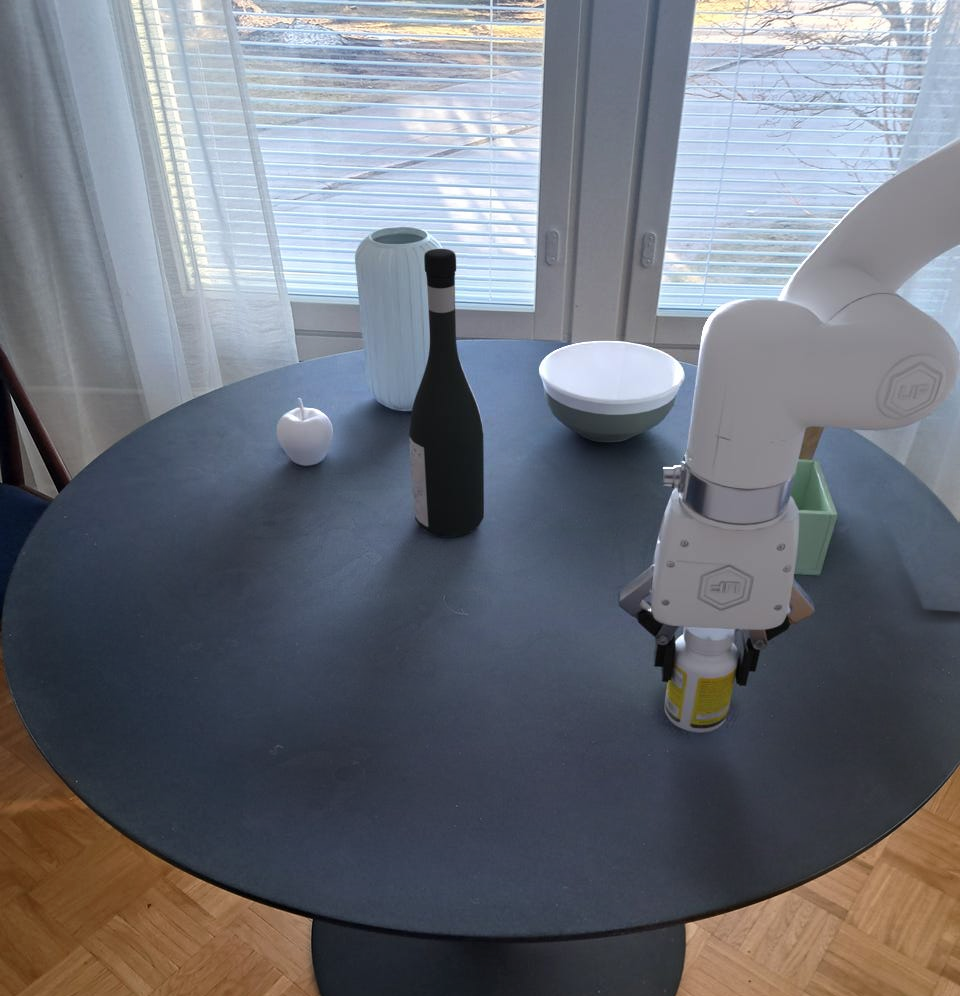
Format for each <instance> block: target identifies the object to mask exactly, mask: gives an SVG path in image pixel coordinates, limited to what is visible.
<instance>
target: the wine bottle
mask: <svg viewBox="0 0 960 996" xmlns="http://www.w3.org/2000/svg"><path fill="white" fill-rule="evenodd" d="M424 265H425V272H426V276H427V290H428V308H429V329H430V348H429V356H428V361H427V365H426V368H425V372H424V375H423V378H422V381H421V383H420V386H419V389H418V392H417V395H416V397H415V400H414V404H413V408H412V411H411V413H410V421H409V431H408V433H409V434H408V438H409V440H408V441H409V454H410V468H411V469H410V471H411V483H412V486H411V487H412V499H413V500H412V501H413V513H414V520H415V522H416V523H417V525H418V527H419V528H420V529H421V530H423V531H425V532H426V533H428V534H429V535H432V536H435V537H440V538H441V537H442V538H454V537H455V538H456V537H462V536H464V535H466V534H469V533H471V532H473V531H474V530H476V529H477V528H478V527H479V526H480V525H481V523H482V521H483V519H484V516H485V473H484V472H485V467H484V465H485V464H484V463H485V462H484V461H485V460H484V459H485V458H484V457H485V456H484V450H485V449H484V427H483V419H482V416H481V415H482V414H481V410H480V407H479V404H478V401H477V398H476V395H475V394H474V390H473V388H472V387H471V384H470V382H469V379H468V377H467V375H466V372H465V369H464V367H463V365H462V361H461V358H460V355H459V350H458V344H457V326H456V325H457V323H456V319H457V318H456V272H457V255H456V252H455V251H454V250H451V249H448V248H442V249H432V250H429V251H427V252H426V253H425V255H424Z"/></svg>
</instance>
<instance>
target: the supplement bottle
mask: <svg viewBox="0 0 960 996" xmlns="http://www.w3.org/2000/svg"><path fill="white" fill-rule="evenodd" d="M735 635H736V629H723V628H702V627H683V634H682V635H680V636H679V637H678V638H677V639H675V643H676V650H675V657H674V664H673V670H672V677H671V680H669V681H668V682H666V683H667V684H666V691H665V699H664V712H665V715H666V717H667V718H668V720H669V721H670V722H671V723H672V724H673V725H675V726H676V727H678V728H679V729H682V730H684V731H688V732H691V733H699V734H700V733H709V732H712V731H715V730H717V729H719V728H720V727H721V726H723V724H724V723H725V722H726V719H727V717H728V713H729V709H730V704H731V700H732V694H733V690H734V686H735V685H734V683H735V681H736V676H735V675H736V670H737V665H738V659H739V654H738V650H737V648H736V644H735Z"/></svg>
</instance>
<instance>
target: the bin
mask: <svg viewBox="0 0 960 996" xmlns="http://www.w3.org/2000/svg"><path fill="white" fill-rule="evenodd" d="M790 496H791V497H792V498H793V500H794V501H795V504H796V506H797V508H798V511H799V535H798V548H797V557H796V565H795V572H794V575H805V576H821V573H822V570H823V566H824V563H825V559H826V556H827V554H828V553H827V552H828V550H829V545H830V543H831V539H832V535H833V532H834V530H835V527H836V526H835V525H836V523H837V519H838V511H837V509H836V506H835V502H834V501H833V499H832V495H831V492H830V490H829V487H828V484H827V481H826V478H825V475H824V472H823V470H822V467H821V463H820V461H819V460H818V459H812V460H806V459H798V463H797V468H796V473H795V477H794V482H793V486H792V490H791V495H790Z"/></svg>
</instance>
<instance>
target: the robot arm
mask: <svg viewBox="0 0 960 996" xmlns="http://www.w3.org/2000/svg"><path fill="white" fill-rule="evenodd" d="M958 246H960V136H958V137H957V138H955V139H953V140H952V141H950V142H948V143H947V144H944V146H941V147H939V148H938V149H936V150H935V151H932V152H931V153H930V154H928V155H926V156H924V157H922V158H921V159H919V160H918V161H916V162H915V163H913V164H911V165H910V166H908V167H906V168H904V169H903V170H901V171H899V172H898V173H896V174H895V175H892V176H891V177H890V178H889V179H887V180H885V181H884V182H882V183H881V184H880V185H878V186H877V187H876V188H875V189H874V190H872V191H870V192H869V193H868V194H867V195H866V196H865V197H863V199H861V200H860V201H859V202H858V203H856V204H855V205H854V206H853V207H852V208H851V209H850V210H849V211H848V212H847V213H846V214H845V215H844V216H843V217H842V218H841V220H840V221H838V223H837V224H836V225H835V226H834V227H833V228H832V229H831V230H830V231H829V232H828V234H826V236H825V237H824V238H823V239H822V240H821V242H819V244H817V246H816V247H815V248H814V249H813V250H812V251H811V253H810V254H809V255H808V256H807V257H806V258H805V259H804V261H803V262H802V263H801V264H800V266H799V267H798V268H797V270H796V271H795V272H794V273H793V274H792V276H791V278H790V279H789V280H788V281H787V283H786V285H785V286H784V288H783V289H782V292H781V293H780V296H779V297H778V299H776V298H763V297H762V298H760V297H759V298H747V299H738V300H734V301H731V302H728V303H725V304H724V305H721V306H720V307H718V308H717V309H716V310H714V312H713V313H712V314H711V315H710V316H709V317H708V318H707V321H706V322H705V324H704V326H703V330H702V333H701V334H702V335H701V340H700V344H699V345H700V347H699V354H698V360H697V361H698V362H697V368H696V377H695V384H694V391H693V398H692V399H693V400H692V406H691V407H692V408H691V414H690V421H689V429H688V437H687V444H686V452H684V453H683V459H682V461H681V460H680V461H679V465H673V467H671V466H670V467H669V466H663V467H662V472H661V487H671V488H672V489H673V491H672V493H671V495H670V498H669V500H668V503H667V506H666V508H665V511H664V514H663V518H662V519H661V525H660V527H659V531H658V535H657V536H658V537H657V541H656V544H655V545H656V546H655V550H654V555H653V560H652V564H651V566H650V567H648V568H647V569H646V570H644V572H642V573H641V574H640V575H638V576H637V577H636V578H634V579H633V580H632V581H631V582H629V583H628V584H627V585H626V586H624V587H623V588H622V589H621V590H619V591H618V593H617V602H618V604H617V605H618V606H619V608H621V609H622V610H623V611H625V612H626V613H627V614H628V615H630V616H631V617H633V618H635V619H637V622H638V624H639V625H640V626H641V627H643V628H644V629H645V630H646V631H647V632H648V633H649V634H651V635H652V636H653V637H654V638H655V639H654V648H653V667H654V668H660V673H661V682H662V683H668V681H669V680H671V677H672V670H673V664H674V657H675V650H676V643H675V642H676V633H677V631H678V629H679V627H683V628H684V627H702V628H723V629H735V630H739V632H738V636H737V641H736V644H735V646H736V648H737V650H738V654H739V659H738V665H737V670H736V675H735V682H736V685H738V686H741V687H746V686H747V684H748V679H749V675H750V672H756V671H757V667H758V663H759V657H760V653H761V651H762V650H764V649H766V648H767V647H768V644H769V643H768V642H769V641H771V640H773V639H775V638H776V637H778V636H779V635H781V634H783V633H785V632H786V631H788V630H789V629H790V627H791V625H792V626H793V625H796V624H797V623H800V622H802V621H804V620H806V619H808V618H809V617H811V616H813V615H814V613H815V611H816V610H815V606H814V603H813V600H812V598H811V596H810V595H809V594H808V593H807V592H806V591H805V590H804V588H803V587H802V586H801V585H800V584H799V582H797V580H796V579H795V574H794V572H795V565H796V557H797V548H798V535H799V511H798V508H797V506H796V504H795V501H794V500H793V498H792V497H791V496H790V495H791V490H792V486H793V482H794V477H795V473H796V468H797V463H798V459H799V455H800V450H801V446H802V442H803V438H804V433H805V429H806V428H807V427H811V426H816V427H824V428H829V429H830V428H833V429H844V430H853V431H854V430H855V431H875V432H876V431H878V432H879V431H888V430H896V429H900V428H903V427H908V426H910V425H912V424H915V423H918V422H920V421H922V420H924V419H925V418H927V417H929V416H930V415H932V414H933V413H934V412H936V411H937V410H938V409H939V408H940V407H941V406H942V405H943V404H944V403H945V402H946V400H947V399H948V398H949V397H950V395H951V394H952V393H953V390H954V389H955V386H956V384H957V381H958V379H959V375H960V355H959V354H960V353H959V350H958V347H957V345H956V342H955V341H954V339H953V337H952V336H951V334H950V333H949V332H948V330H947V329H946V328H945V327H944V326H943V325H942V324H941V323H939V322H938V321H937V320H936V319H935V318H933V317H932V316H930V315H929V314H927V313H926V312H924V311H923V310H922V309H920V308H918V307H916V305H914V304H912V303H911V302H909V301H908V300H907V299H905V298H904V297H902V296H901V295H900V294H898V293H897V292H898V290H900V288H901V287H902V286H903V285H904V284H905V283H906V282H907V281H909V280H910V279H911V278H912V277H913V276H915V274H917V272H919V271H920V270H921V269H922V268H924V267H925V266H927V265H928V264H929V263H930V262H932V261H934V260H935V259H936V258H938V257H940V256H942V255H943V254H945V253H946V252H948V251H950V250H952V249H954V248H956V247H958ZM648 596H650V602H649V601H646V600H645V599H646V598H647V597H648Z"/></svg>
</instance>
